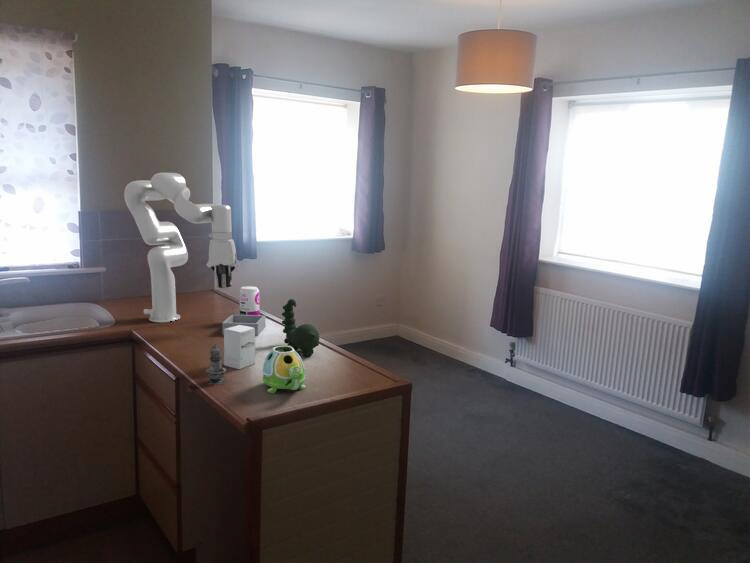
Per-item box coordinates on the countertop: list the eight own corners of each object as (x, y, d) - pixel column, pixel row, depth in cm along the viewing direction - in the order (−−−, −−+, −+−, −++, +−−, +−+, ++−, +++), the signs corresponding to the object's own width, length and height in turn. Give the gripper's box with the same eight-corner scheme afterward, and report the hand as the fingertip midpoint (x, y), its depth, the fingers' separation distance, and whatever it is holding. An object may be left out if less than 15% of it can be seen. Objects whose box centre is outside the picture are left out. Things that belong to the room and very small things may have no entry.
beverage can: (225, 287, 235) (224, 257, 233) (234, 288, 232) (233, 258, 230) (213, 289, 231) (212, 259, 229) (222, 290, 227) (221, 260, 225)
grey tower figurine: (208, 378, 180) (207, 340, 177) (227, 378, 180) (226, 340, 178) (204, 384, 174) (203, 346, 172) (224, 384, 174) (223, 346, 172)
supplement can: (261, 320, 252) (261, 286, 249) (256, 324, 244) (255, 290, 241) (243, 319, 253) (243, 285, 250) (237, 324, 245) (236, 289, 242)
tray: (222, 334, 228) (222, 322, 227) (232, 325, 241) (231, 314, 241) (257, 335, 227) (257, 324, 227) (265, 326, 241) (265, 315, 240)
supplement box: (240, 369, 188) (239, 332, 186) (223, 365, 192) (222, 328, 189) (256, 364, 194) (255, 327, 192) (239, 359, 198) (239, 324, 196)
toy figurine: (276, 348, 217) (303, 361, 196) (274, 298, 215) (301, 306, 194) (299, 345, 222) (328, 358, 201) (298, 296, 220) (326, 303, 199)
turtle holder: (276, 403, 161) (276, 362, 159) (257, 382, 177) (256, 345, 175) (317, 396, 167) (318, 357, 165) (295, 377, 183) (295, 340, 181)
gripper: (198, 237, 224) (200, 283, 228) (240, 237, 224) (241, 284, 227) (204, 235, 232) (206, 280, 235) (245, 235, 231) (246, 281, 234)
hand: (223, 282), depth 231 cm, fingers closed on beverage can, 3 cm apart
